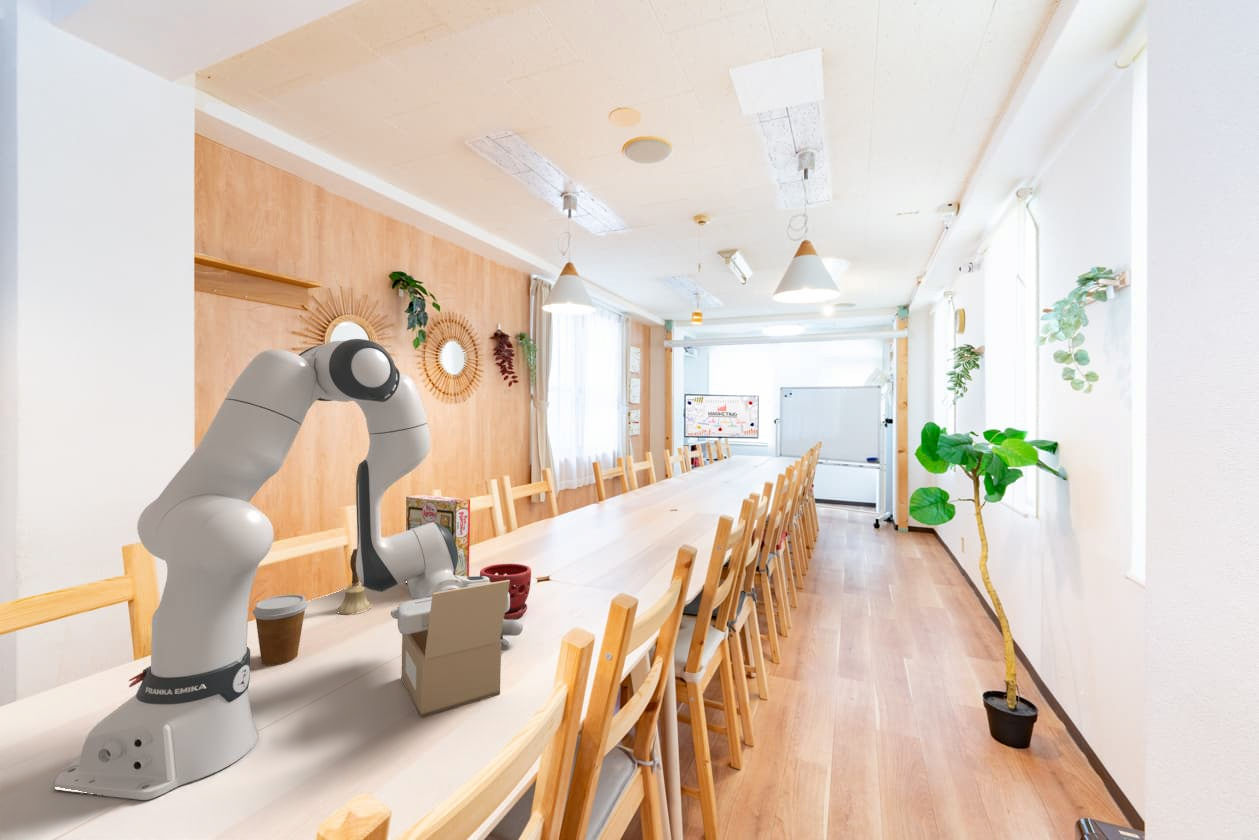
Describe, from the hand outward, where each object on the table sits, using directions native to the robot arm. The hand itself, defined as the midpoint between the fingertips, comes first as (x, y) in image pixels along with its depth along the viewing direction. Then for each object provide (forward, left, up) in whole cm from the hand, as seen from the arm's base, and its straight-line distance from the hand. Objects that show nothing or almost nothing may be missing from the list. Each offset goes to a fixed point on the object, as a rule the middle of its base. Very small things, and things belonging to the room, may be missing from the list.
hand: (468, 622), depth 89 cm
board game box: (-24, +67, -15) cm, 73 cm away
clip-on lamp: (-3, +27, -16) cm, 31 cm away
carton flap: (0, -1, +1) cm, 1 cm away
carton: (-5, +8, -15) cm, 18 cm away
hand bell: (-40, +49, -15) cm, 65 cm away
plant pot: (0, +44, -15) cm, 47 cm away
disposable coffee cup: (-43, +21, -15) cm, 50 cm away
